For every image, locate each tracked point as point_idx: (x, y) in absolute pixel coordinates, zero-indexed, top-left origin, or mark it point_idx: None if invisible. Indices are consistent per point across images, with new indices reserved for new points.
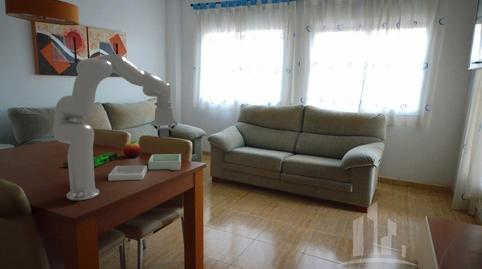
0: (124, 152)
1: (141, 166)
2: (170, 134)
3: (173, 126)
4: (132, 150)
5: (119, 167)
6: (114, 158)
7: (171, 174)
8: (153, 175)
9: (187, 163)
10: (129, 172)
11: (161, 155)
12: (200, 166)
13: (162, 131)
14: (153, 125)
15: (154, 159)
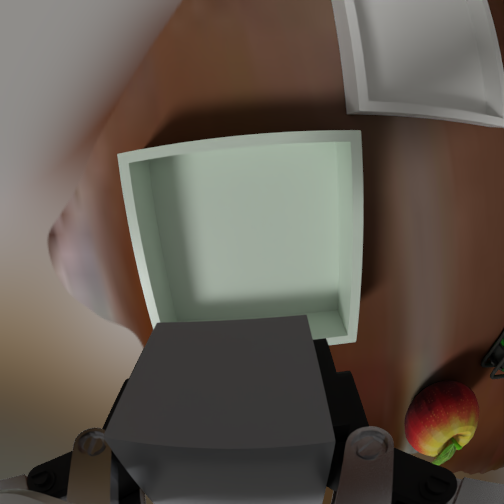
0: (471, 390)
1: (390, 102)
2: None
3: (37, 478)
4: (449, 399)
5: (492, 117)
6: (498, 344)
7: (179, 56)
8: (288, 35)
9: (130, 294)
10: (433, 81)
11: None
12: (53, 232)
13: (256, 398)
14: (471, 496)
15: (334, 318)
